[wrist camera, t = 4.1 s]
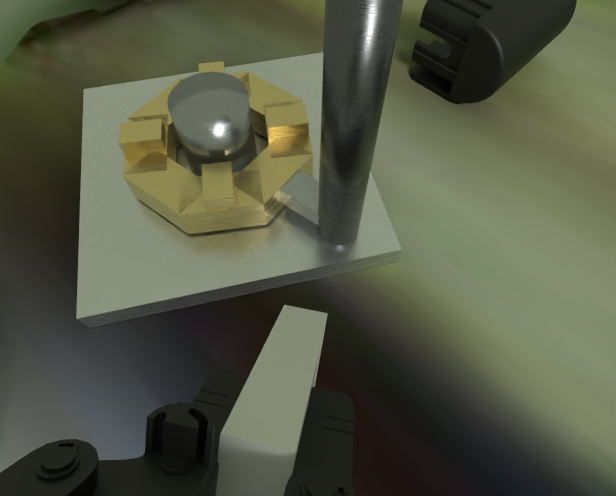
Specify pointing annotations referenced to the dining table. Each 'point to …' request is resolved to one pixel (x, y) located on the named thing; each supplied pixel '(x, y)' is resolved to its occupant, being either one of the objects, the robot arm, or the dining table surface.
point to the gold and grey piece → (279, 139)
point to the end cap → (483, 43)
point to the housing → (192, 155)
